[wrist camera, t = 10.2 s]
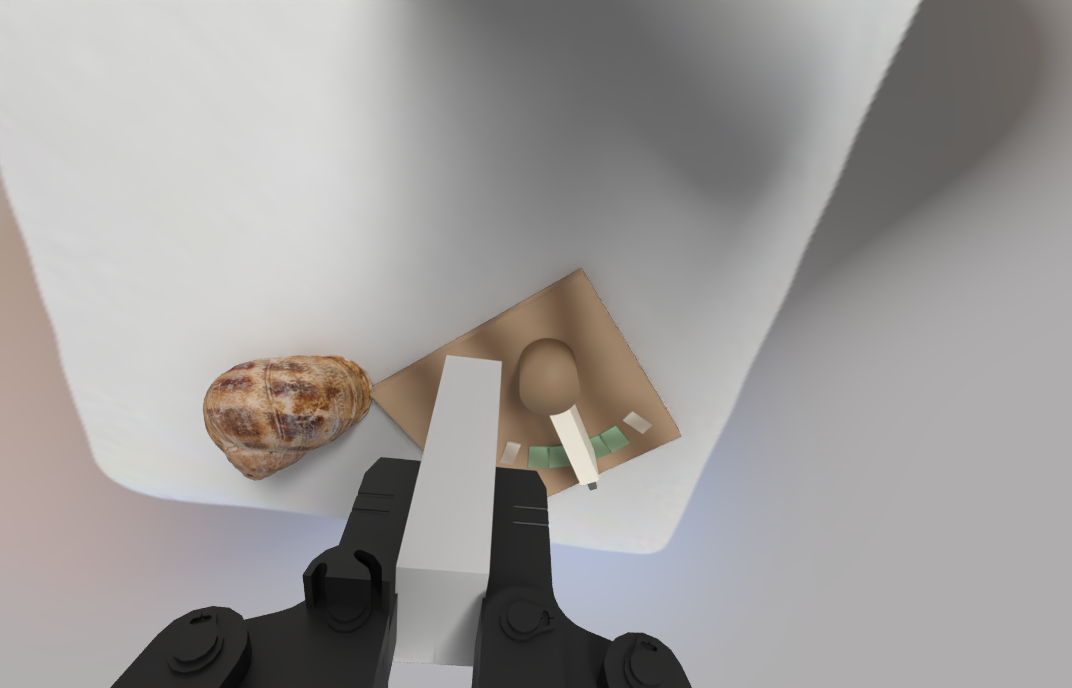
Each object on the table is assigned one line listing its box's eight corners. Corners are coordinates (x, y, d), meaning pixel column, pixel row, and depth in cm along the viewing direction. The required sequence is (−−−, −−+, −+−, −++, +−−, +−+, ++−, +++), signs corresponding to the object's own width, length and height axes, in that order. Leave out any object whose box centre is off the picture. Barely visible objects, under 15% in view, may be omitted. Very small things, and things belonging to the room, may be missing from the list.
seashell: (336, 466, 47) (233, 518, 38) (275, 395, 49) (163, 429, 40) (391, 388, 43) (291, 426, 34) (323, 314, 44) (210, 331, 35)
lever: (511, 348, 40) (510, 377, 37) (564, 330, 40) (568, 358, 36) (565, 466, 47) (569, 500, 43) (612, 452, 46) (619, 485, 43)
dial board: (581, 267, 39) (583, 275, 38) (677, 427, 47) (682, 437, 45) (373, 386, 44) (368, 396, 42) (492, 512, 51) (491, 524, 50)
